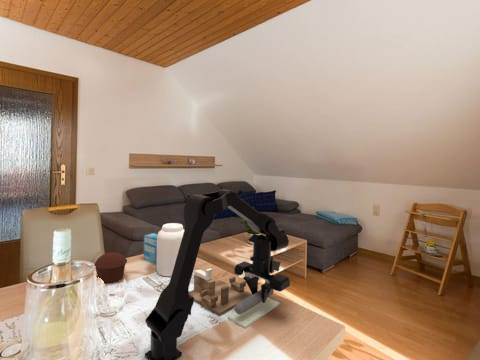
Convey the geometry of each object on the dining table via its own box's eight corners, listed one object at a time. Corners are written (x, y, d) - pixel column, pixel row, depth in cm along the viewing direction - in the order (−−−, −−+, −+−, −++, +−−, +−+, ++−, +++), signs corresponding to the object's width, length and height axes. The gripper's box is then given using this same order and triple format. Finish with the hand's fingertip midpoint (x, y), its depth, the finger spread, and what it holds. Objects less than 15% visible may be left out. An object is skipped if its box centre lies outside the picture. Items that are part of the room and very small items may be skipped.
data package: (143, 259, 125) (143, 234, 124) (151, 256, 129) (151, 232, 128) (161, 265, 118) (161, 239, 118) (168, 262, 122) (169, 237, 121)
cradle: (252, 297, 94) (252, 279, 94) (219, 316, 82) (219, 296, 81) (218, 281, 105) (219, 265, 105) (184, 296, 93) (185, 278, 92)
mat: (279, 304, 90) (279, 302, 90) (245, 328, 76) (245, 326, 76) (262, 296, 95) (262, 295, 95) (227, 318, 81) (227, 316, 81)
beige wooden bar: (212, 278, 93) (212, 269, 92) (207, 280, 91) (207, 270, 91) (199, 272, 97) (199, 263, 97) (194, 274, 95) (194, 265, 95)
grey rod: (275, 295, 91) (275, 286, 91) (240, 318, 78) (240, 307, 77) (267, 292, 93) (267, 283, 93) (232, 313, 80) (232, 303, 79)
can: (171, 280, 105) (172, 230, 103) (150, 272, 112) (150, 225, 110) (192, 269, 116) (193, 224, 114) (172, 262, 122) (172, 219, 121)
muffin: (87, 282, 101) (87, 256, 100) (110, 270, 111) (110, 247, 111) (112, 287, 97) (112, 261, 96) (133, 275, 108) (133, 251, 107)
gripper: (300, 255, 86) (297, 302, 87) (254, 242, 98) (252, 283, 99) (281, 264, 78) (278, 316, 79) (234, 248, 90) (232, 293, 91)
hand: (259, 300), depth 87 cm, fingers closed on grey rod, 3 cm apart
